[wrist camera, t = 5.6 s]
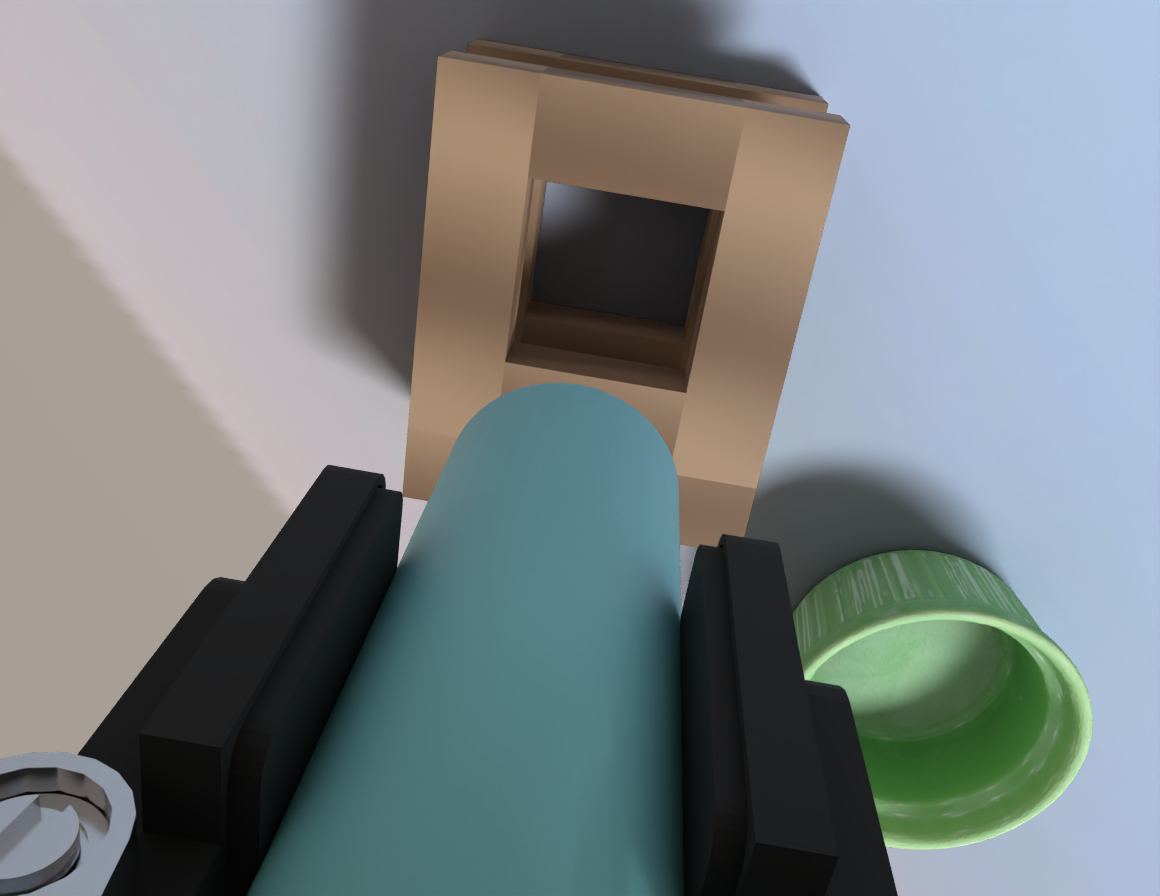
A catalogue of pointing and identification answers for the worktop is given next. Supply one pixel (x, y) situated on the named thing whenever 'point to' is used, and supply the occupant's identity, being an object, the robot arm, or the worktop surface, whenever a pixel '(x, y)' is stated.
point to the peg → (513, 678)
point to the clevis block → (602, 340)
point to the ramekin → (946, 695)
